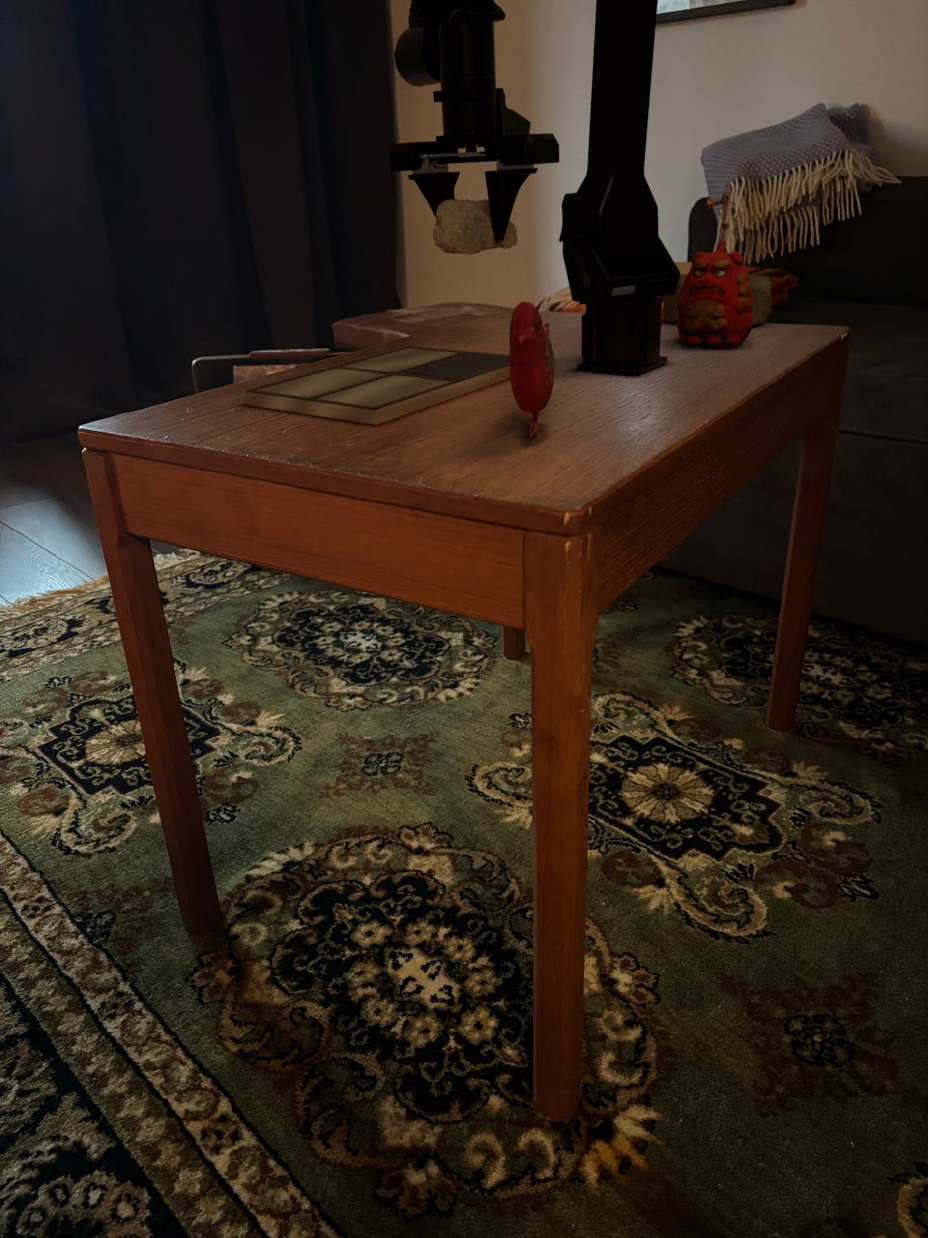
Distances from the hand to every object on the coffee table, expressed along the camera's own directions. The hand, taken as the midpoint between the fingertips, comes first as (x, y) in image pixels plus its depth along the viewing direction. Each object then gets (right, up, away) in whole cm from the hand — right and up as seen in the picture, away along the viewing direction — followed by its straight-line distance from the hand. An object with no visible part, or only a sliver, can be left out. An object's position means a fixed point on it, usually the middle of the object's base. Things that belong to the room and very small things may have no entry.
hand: (475, 241), depth 106 cm
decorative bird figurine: (+4, -27, -33) cm, 43 cm away
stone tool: (0, -1, +1) cm, 1 cm away
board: (-8, -20, -18) cm, 28 cm away
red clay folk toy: (+24, -13, -6) cm, 29 cm away
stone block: (+28, -8, +5) cm, 29 cm away
